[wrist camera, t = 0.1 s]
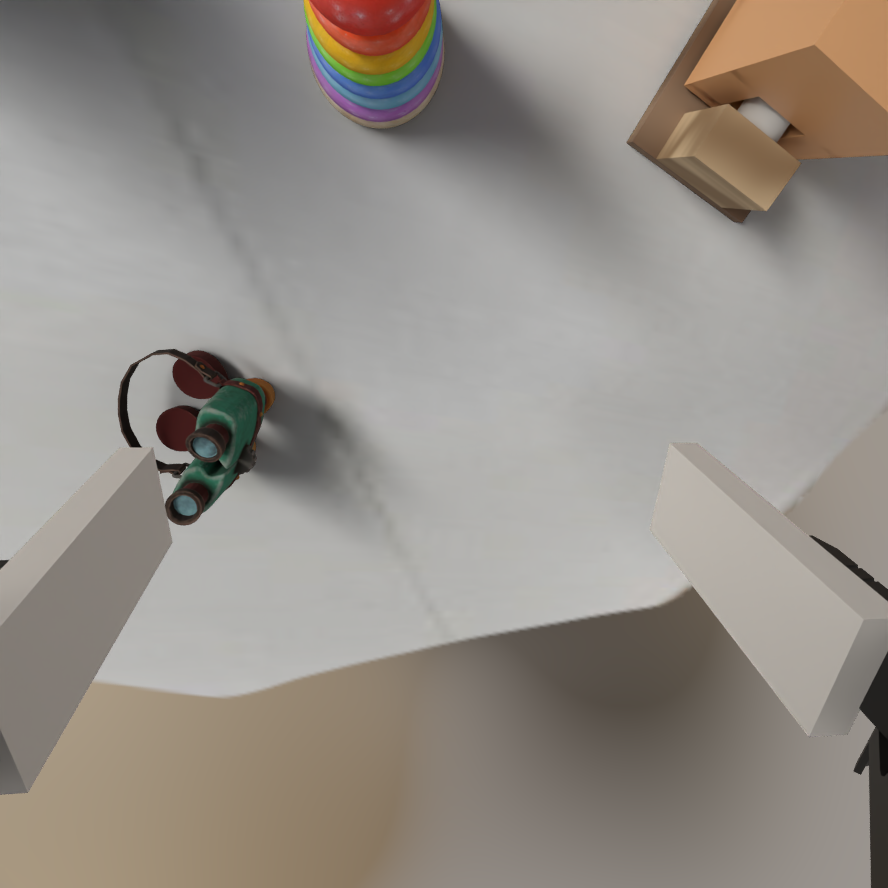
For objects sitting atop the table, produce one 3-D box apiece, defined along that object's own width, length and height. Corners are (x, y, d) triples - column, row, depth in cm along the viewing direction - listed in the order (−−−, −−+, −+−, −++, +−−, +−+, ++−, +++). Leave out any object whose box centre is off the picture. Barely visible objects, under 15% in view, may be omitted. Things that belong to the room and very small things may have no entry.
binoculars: (75, 360, 30) (253, 434, 32) (164, 324, 40) (297, 381, 41) (44, 494, 33) (209, 554, 35) (134, 430, 43) (259, 479, 44)
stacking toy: (457, -3, 33) (539, -197, 16) (424, 145, 36) (463, 115, 19) (322, -53, 31) (253, -328, 14) (300, 107, 34) (221, 37, 17)
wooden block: (777, 160, 37) (932, 153, 27) (683, 85, 35) (814, 44, 24) (842, 67, 35) (1038, 20, 25) (748, -19, 33) (921, -113, 22)
